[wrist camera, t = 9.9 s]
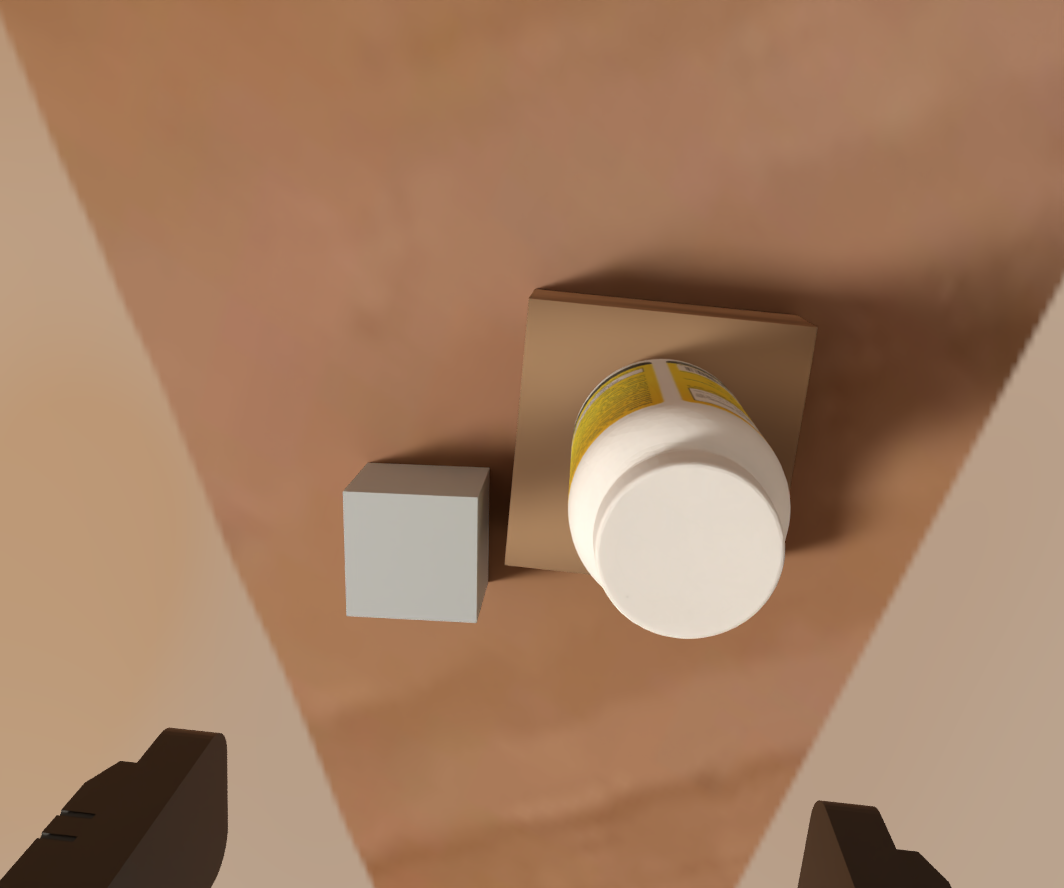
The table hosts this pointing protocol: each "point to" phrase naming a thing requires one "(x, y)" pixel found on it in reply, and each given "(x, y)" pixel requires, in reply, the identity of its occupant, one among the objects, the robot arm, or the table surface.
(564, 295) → the walnut block
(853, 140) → the table surface
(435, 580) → the slate block
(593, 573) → the pill bottle
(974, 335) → the table surface
